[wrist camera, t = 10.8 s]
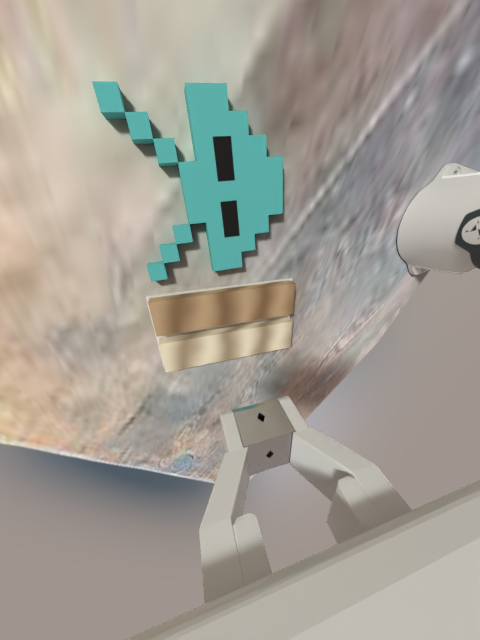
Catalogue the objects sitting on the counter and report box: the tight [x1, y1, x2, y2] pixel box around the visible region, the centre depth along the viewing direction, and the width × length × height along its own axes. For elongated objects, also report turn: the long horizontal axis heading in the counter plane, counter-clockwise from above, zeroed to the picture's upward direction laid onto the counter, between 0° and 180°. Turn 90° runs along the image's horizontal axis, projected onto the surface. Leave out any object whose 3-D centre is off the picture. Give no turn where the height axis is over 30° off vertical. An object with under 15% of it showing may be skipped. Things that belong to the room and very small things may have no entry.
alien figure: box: [92, 82, 283, 282], centre depth 28 cm, size 20×2×20 cm
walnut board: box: [148, 280, 296, 337], centre depth 35 cm, size 23×6×2 cm, turn 92°
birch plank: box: [159, 317, 293, 372], centre depth 38 cm, size 23×6×2 cm, turn 92°
